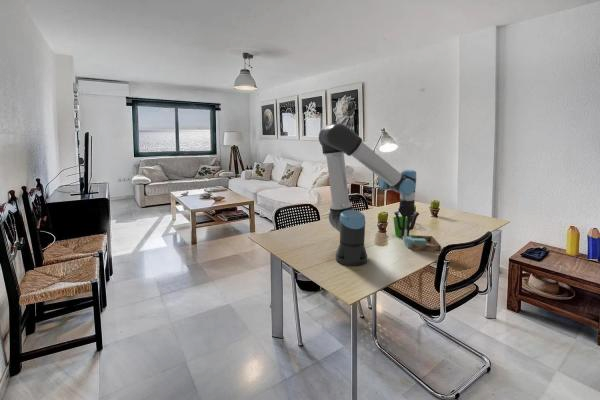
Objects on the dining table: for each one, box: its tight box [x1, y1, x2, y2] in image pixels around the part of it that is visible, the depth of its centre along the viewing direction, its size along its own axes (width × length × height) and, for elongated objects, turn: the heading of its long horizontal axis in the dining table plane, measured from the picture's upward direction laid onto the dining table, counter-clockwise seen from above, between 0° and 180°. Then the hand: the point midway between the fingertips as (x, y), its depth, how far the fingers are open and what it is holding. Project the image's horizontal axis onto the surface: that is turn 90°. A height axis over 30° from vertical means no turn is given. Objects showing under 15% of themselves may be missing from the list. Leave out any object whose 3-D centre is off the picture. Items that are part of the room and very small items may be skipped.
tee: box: [404, 236, 427, 249], centre depth 176 cm, size 10×10×4 cm
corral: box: [409, 234, 442, 253], centre depth 176 cm, size 14×16×3 cm
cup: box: [392, 215, 407, 239], centre depth 191 cm, size 9×9×11 cm
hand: (404, 241), depth 177 cm, fingers closed
